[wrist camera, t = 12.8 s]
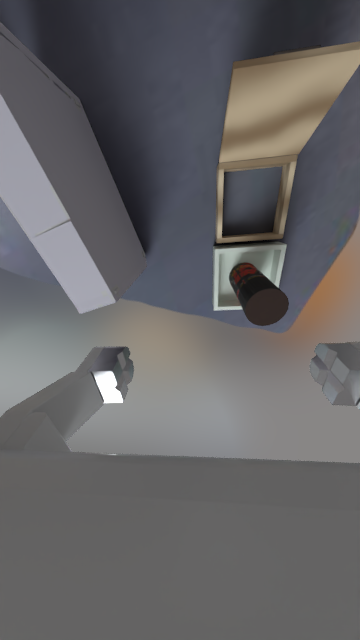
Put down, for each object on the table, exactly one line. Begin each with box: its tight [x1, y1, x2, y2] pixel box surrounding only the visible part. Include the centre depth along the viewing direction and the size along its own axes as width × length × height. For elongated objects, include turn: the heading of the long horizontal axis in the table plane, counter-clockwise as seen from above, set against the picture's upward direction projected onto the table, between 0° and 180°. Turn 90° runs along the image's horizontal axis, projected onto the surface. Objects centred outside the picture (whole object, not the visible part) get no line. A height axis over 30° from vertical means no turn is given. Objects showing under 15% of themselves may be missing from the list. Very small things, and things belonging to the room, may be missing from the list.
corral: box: [216, 154, 298, 243], centre depth 33 cm, size 12×12×3 cm
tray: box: [212, 241, 287, 310], centre depth 39 cm, size 13×13×4 cm
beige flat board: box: [219, 42, 360, 163], centre depth 22 cm, size 12×12×1 cm
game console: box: [0, 22, 147, 314], centre depth 26 cm, size 6×27×20 cm, turn 19°
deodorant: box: [229, 262, 289, 326], centre depth 33 cm, size 6×6×15 cm
